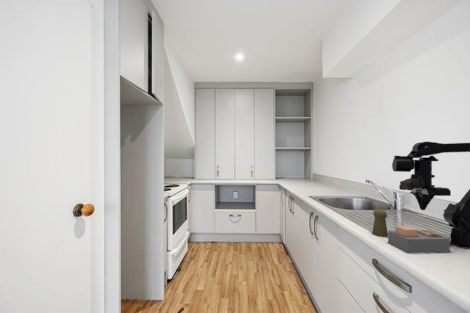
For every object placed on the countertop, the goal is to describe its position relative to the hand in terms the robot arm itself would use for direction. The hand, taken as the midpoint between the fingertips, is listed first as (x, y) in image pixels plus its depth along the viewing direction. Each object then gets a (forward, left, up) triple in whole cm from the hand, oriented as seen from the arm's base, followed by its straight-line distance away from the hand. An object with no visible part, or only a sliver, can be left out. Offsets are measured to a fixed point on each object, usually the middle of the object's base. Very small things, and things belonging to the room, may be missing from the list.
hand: (422, 209), depth 96 cm
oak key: (+3, +6, -13) cm, 15 cm away
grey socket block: (+8, +7, -13) cm, 17 cm away
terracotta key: (+12, +7, -11) cm, 18 cm away
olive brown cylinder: (+12, -9, -13) cm, 20 cm away
